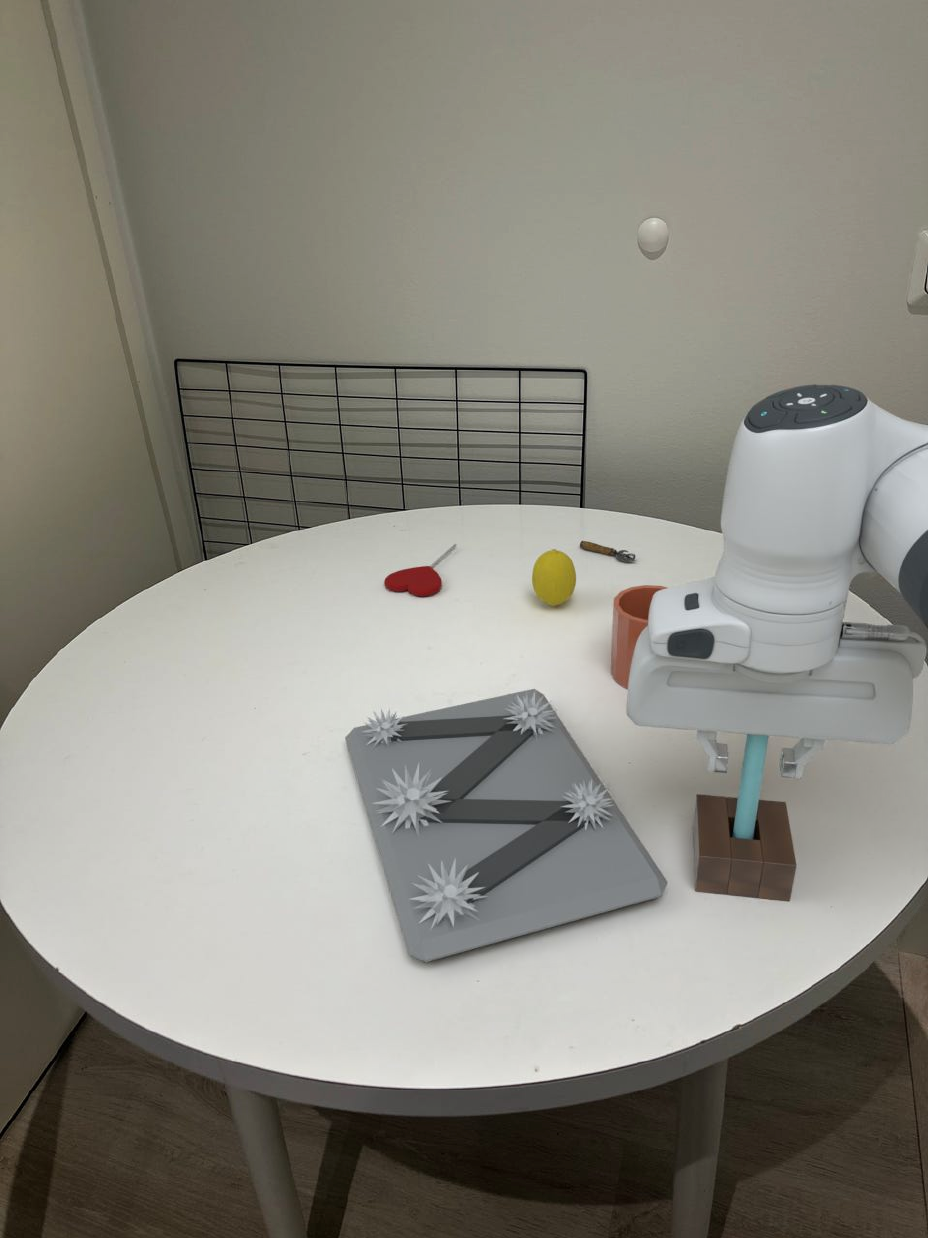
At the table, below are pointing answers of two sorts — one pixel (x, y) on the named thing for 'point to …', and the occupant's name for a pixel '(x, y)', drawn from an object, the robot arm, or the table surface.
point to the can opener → (607, 551)
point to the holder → (743, 850)
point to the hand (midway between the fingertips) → (752, 770)
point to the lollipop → (416, 579)
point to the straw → (750, 785)
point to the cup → (629, 627)
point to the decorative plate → (493, 824)
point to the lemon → (554, 577)
